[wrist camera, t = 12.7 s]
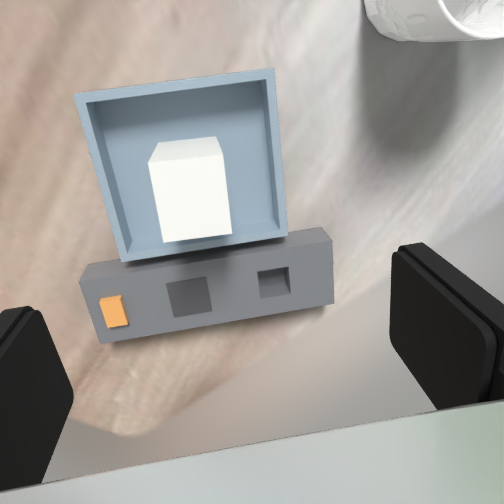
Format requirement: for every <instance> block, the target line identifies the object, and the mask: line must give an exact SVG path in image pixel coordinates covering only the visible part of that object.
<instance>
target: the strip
mask: <svg viewBox="0 0 504 504" xmlns="http://www.w3.org/2000/svg"><path fill="white" fill-rule="evenodd" d="M79 284H80V287H81V289H82V292H83V295H84V298H85V301H86V304H87V307H88V310H89V313H90V316H91V318H92V321H93V324H94V327H95V330H96V333H97V336H98V339H99V342H100V344H103V343H109V342H115V341H121V340H127V339H132V338H138V337H144V336H150V335H156V334H161V333H167V332H173V331H179V330H184V329H190V328H196V327H202V326H208V325H213V324H219V323H225V322H231V321H237V320H242V319H248V318H254V317H260V316H266V315H271V314H277V313H283V312H289V311H294V310H300V309H306V308H312V307H318V306H323V305H329V304H334V280H333V250H332V239H331V238H330V237H329V236H328V235H327V233H326V232H325V231H324V230H323V228H322V227H319V228H313V229H307V230H300V231H294V232H288V236H283V237H277V238H270V239H264V240H258V241H251V242H245V243H239V244H233V245H226V246H220V247H214V248H208V249H201V250H195V251H189V252H182V253H176V254H170V255H164V256H157V257H151V258H145V259H139V260H132V261H126V262H121V259H118V260H112V261H105V262H99V263H93V264H88V266H87V267H86V269H85V271H84V273H83V274H82V276H81V278H80V280H79Z"/></svg>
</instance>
